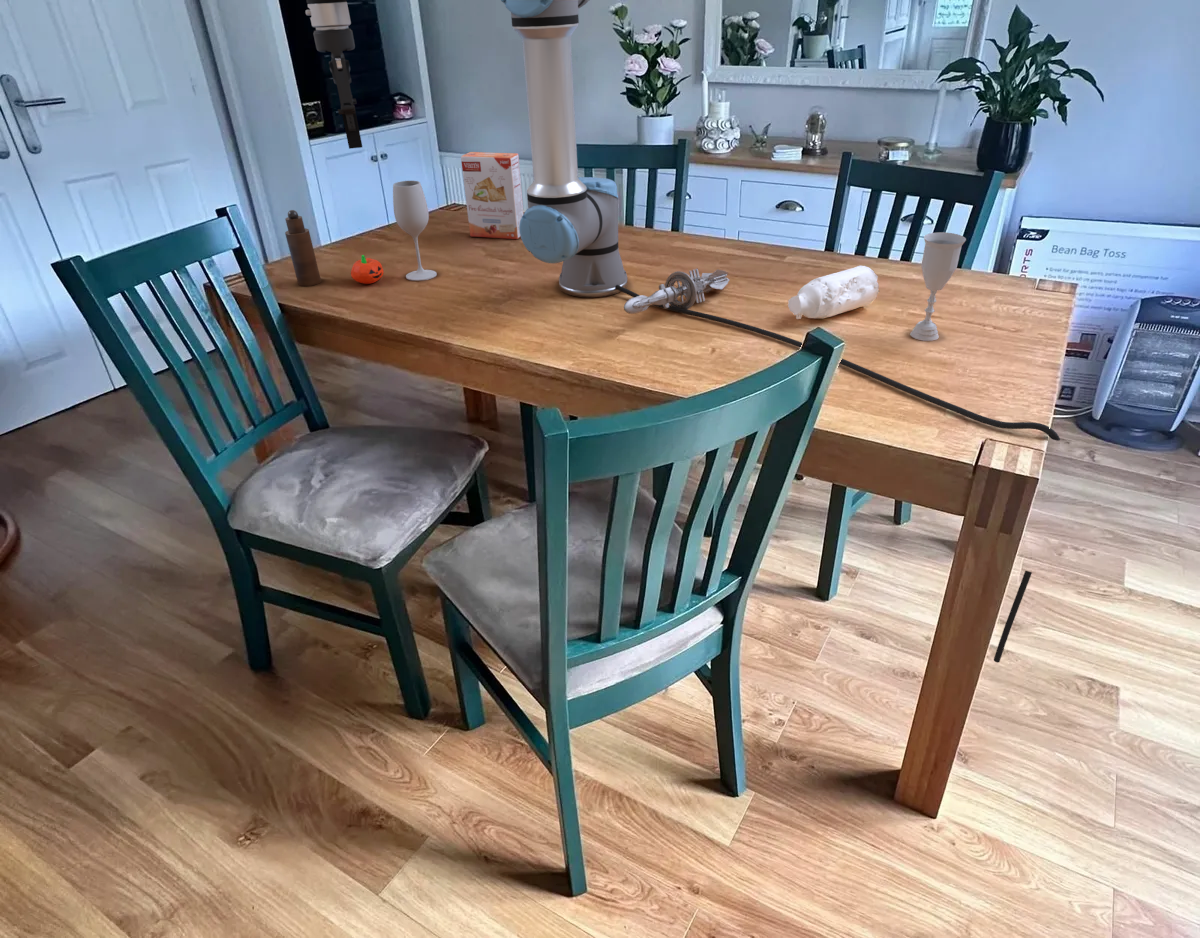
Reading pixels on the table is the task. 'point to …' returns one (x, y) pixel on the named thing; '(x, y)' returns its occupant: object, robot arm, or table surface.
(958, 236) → the chalice
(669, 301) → the spaceship
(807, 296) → the white bottle
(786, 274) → the table surface
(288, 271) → the table surface
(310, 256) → the pepper mill
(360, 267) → the pumpkin
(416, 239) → the wineglass
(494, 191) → the cracker box
